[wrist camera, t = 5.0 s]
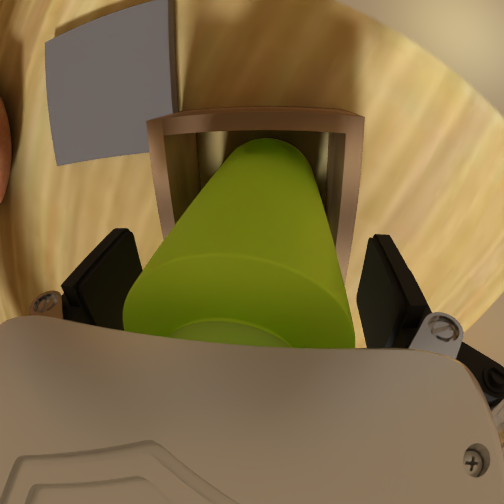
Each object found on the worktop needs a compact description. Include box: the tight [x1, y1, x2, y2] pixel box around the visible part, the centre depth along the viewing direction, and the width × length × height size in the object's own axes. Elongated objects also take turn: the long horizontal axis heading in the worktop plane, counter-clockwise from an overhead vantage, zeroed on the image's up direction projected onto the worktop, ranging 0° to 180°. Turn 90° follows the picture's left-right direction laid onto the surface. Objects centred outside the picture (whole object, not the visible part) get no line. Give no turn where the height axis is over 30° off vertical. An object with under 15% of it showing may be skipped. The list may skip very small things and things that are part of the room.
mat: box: [45, 0, 178, 166], centre depth 15 cm, size 10×10×1 cm
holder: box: [146, 106, 365, 285], centre depth 16 cm, size 11×10×5 cm
